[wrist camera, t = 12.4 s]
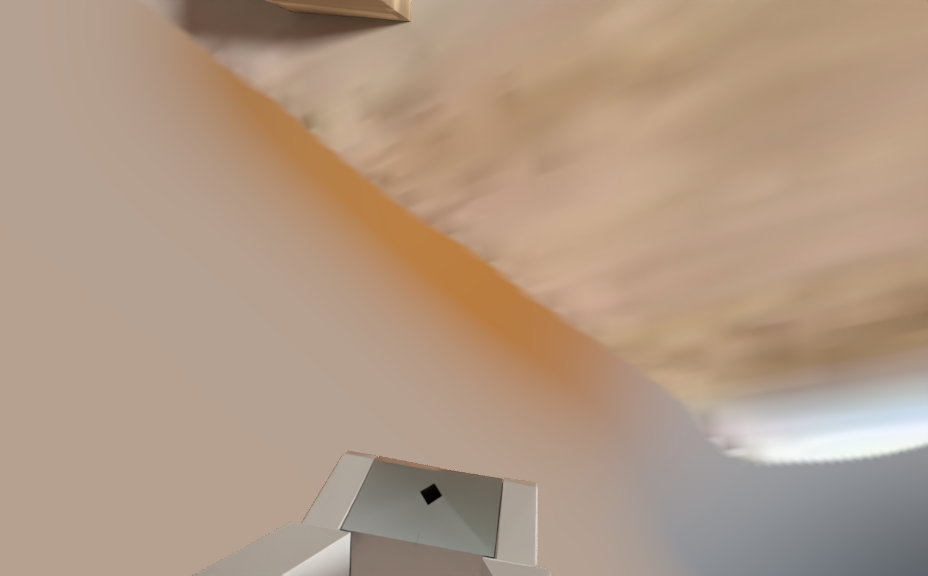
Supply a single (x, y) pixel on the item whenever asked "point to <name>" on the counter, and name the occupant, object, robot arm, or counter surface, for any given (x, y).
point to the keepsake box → (351, 8)
